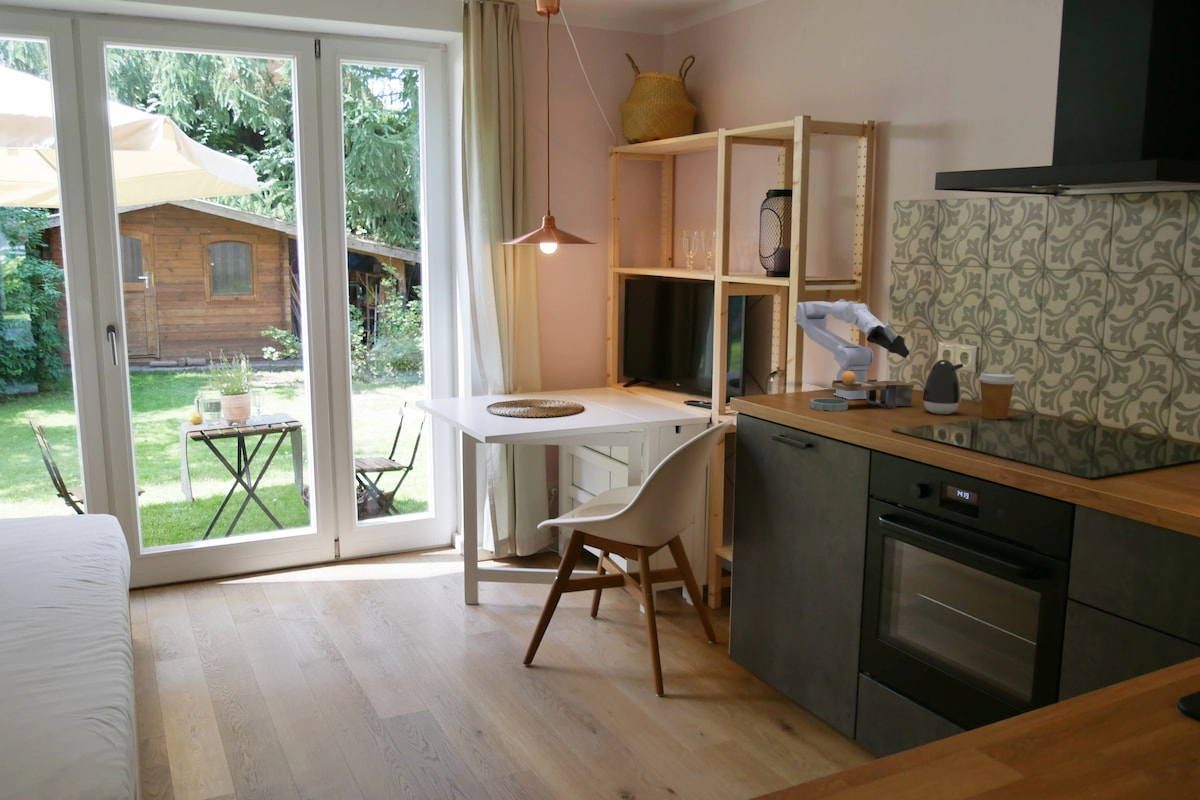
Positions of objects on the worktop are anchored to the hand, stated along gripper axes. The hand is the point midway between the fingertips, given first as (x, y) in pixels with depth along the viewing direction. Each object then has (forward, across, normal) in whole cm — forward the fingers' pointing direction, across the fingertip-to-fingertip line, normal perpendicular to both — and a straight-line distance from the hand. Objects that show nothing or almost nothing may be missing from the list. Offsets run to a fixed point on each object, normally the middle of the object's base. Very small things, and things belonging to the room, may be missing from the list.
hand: (898, 350), depth 281 cm
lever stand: (+2, +9, +15) cm, 17 cm away
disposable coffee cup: (+26, +18, 0) cm, 32 cm away
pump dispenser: (+17, +11, +7) cm, 21 cm away
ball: (-2, -7, +14) cm, 16 cm away
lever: (+2, +3, +17) cm, 17 cm away
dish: (+1, -10, +24) cm, 26 cm away
